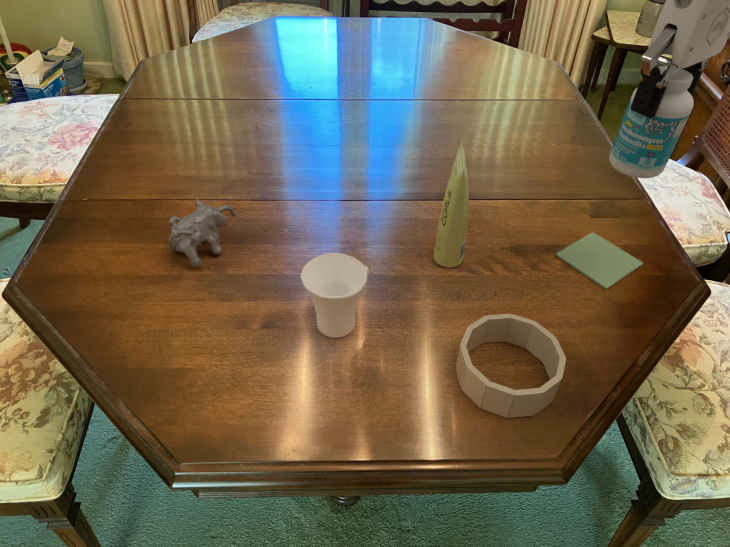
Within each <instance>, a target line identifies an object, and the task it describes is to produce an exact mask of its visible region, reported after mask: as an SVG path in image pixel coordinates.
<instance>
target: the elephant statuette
mask: <svg viewBox="0 0 730 547" xmlns="http://www.w3.org/2000/svg"><path fill="white" fill-rule="evenodd" d="M195 208H196V209H195V210H194V211H193V212H192V213H188V214H186V215H184V216H183V217H182V218H181V217H179V216H177V215H174V216H172V217H170V219H169V221H168V225H169V226H170V227H171V233H170V235H169V237H168V247H169V250H170V251H171V252H173V253H175V252H177V253H183V254H185V256H186V257H187V258H188V260H189V261H190V263H191V266H192V267H193V268H195V269H199V268H200V267H202V264H203V262H202V259H201V258H200V257H199V254H198V252H197V248H198V247H199V246H201V245H202V243H207V245H208V247H209V248H210V250H211V252H212V254H213V255H214V256H219V255H221V254H222V252H223V249H222V247H221V244H220V236H219V232H220V231H219V228H225V227H227V226H228V224H229V221H228V218H227V217H226V215H224V214H223V212H224V211H228V212H229V214H230V215H231V216H232V217H233V218H235V217H237V212H236V211H235V210H234V209H233V207H232V206H231V205H229V204H224V205H221V206H217V207H216V206H213V205H210V204H205V203H204V202H203V201H201V200H199V199H198V198H196V199H195Z"/></svg>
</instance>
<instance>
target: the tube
mask: <svg viewBox="0 0 730 547" xmlns="http://www.w3.org/2000/svg"><path fill="white" fill-rule="evenodd" d="M469 188H470V186H469V176H468V168H467V161H466V156H465V151H464V147H463V141H461V142H460V146H459V148H458V150H457V151H456V155H455V158H454V161H453V163H452V167H451V171H450V175H449V178H448V181H447V185H446V188H445V193H444V196H443V200H442V206H441V210H440V215H439V220H438V225H437V231H436V235H435V243H434V249H433V260H434V262H435V263H436V264H437V265H439V266H441V267H443V268H449V269H451V268H456V267H458V266H460V265H461V264H462V263H463V261H464V257H465V251H466V250H465V249H466V242H467V233H468V225H469V213H470V212H469V209H470V208H469V207H470V189H469Z"/></svg>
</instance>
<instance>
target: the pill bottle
mask: <svg viewBox="0 0 730 547" xmlns="http://www.w3.org/2000/svg"><path fill="white" fill-rule="evenodd" d="M657 67H658V68H660V72H661V74H662V73H663V71H664V70H665V68H666V67H667V66H665V65H661V66H657ZM692 80H693V76H692V74H691V73H689V72H688V71H686V70H683V69H680V68H677V67H675V69H674V71H673V72H672V74H671V75H670V77H669V78H668V80H667V81H666V83H665V85H664V87H667V88H666V91H665V93H664V96H663V98H662V101H661V103H660V106H659V108H658V111H657V113H656V115H655V117H653V118H648V117H646V116H643V115H641V114H639V113H636V112H634V111H632V110H631V104H632V102H633V99H634V96H635V94H636V91H637V88H638V86H637V87H636V88H635V89H634V90H633V92H632V94H631V97H630V98H629V102H628V104H627V106H626V110H625V112H624V115H623V117H622V121H621V123H620V126H619V128H618V131H617V133H616V136H615V139H614V141H613V144H612V146H611V150H610V152H609V156H608V160H609V163H610V165H611V166H612V167H613V169H615V170H616V171H617V172H619V173H621V174H623V175H626V176H628V177H631V178H636V179H651V178H656V177H658V176H659V175H661V174H662V173H663V172H664V170H665V168H667V167H666V166H667V164H668V163H669V160H670V158H671V156H672V154H673V152H674V149H675V147H676V145H677V143H678V141H679V139H680V137H681V134H682V133H683V130H684V129H685V126H686V124H687V123H688V122H687V121H688V120H689V118H690V116H691V113H692V110H693V108H694V105H695V103H694V102H695V100H694V98H693V95H692V96H691V94H690V93H689V92H688V91H687V89H688V88H689V87H690V85H691V82H692Z"/></svg>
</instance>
